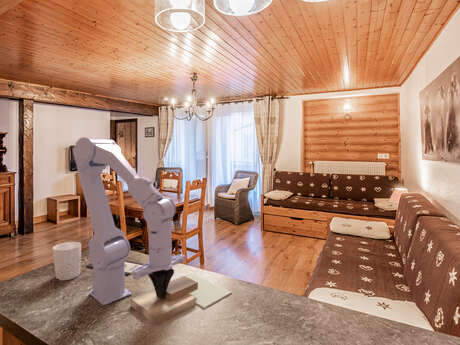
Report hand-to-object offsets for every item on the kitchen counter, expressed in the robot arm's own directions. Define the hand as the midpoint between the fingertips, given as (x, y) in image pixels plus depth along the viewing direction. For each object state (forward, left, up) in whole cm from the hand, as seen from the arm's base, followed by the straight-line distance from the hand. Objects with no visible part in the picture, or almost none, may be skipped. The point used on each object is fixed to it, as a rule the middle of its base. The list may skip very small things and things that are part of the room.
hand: (160, 296), depth 72 cm
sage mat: (0, +12, -3) cm, 13 cm away
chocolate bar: (-33, +4, -3) cm, 33 cm away
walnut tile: (0, +5, -1) cm, 6 cm away
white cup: (-37, -10, -3) cm, 39 cm away
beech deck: (0, +1, -3) cm, 3 cm away
